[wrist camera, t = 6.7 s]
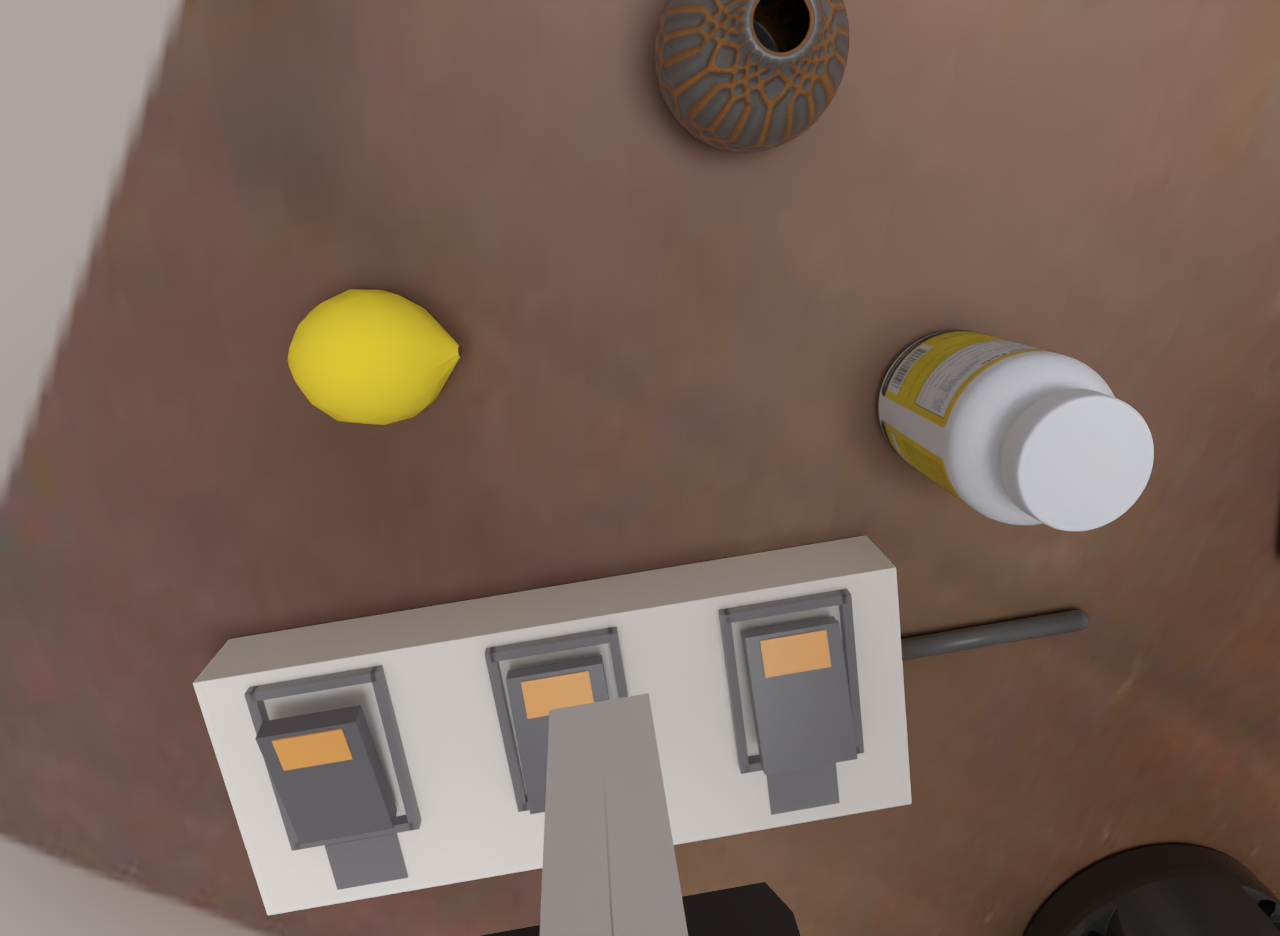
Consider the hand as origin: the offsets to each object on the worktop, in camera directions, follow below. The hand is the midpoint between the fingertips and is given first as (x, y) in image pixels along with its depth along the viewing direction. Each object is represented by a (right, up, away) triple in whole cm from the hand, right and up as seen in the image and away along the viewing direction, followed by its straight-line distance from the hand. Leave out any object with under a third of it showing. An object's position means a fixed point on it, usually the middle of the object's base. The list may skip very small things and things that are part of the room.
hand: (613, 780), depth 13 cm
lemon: (-10, +10, +24) cm, 28 cm away
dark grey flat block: (-3, -6, +24) cm, 25 cm away
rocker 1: (-13, -8, +24) cm, 28 cm away
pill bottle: (+14, +8, +27) cm, 31 cm away
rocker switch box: (+2, -6, +29) cm, 30 cm away
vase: (+4, +21, +22) cm, 31 cm away
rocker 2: (+7, -5, +24) cm, 26 cm away
